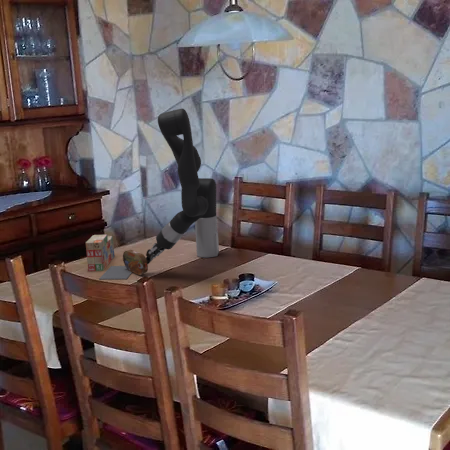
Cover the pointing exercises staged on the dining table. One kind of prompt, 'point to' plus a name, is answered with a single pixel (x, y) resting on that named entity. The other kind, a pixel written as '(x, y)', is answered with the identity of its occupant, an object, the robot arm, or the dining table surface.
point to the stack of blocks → (99, 252)
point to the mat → (116, 273)
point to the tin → (135, 262)
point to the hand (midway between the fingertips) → (145, 262)
